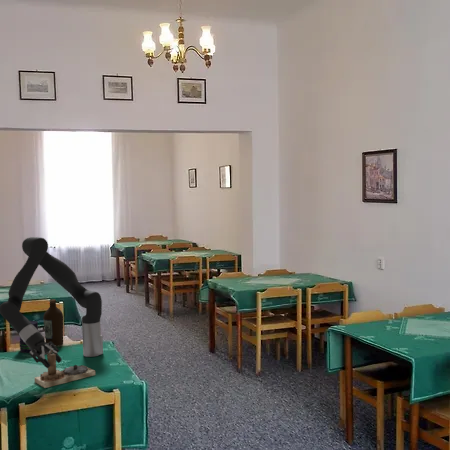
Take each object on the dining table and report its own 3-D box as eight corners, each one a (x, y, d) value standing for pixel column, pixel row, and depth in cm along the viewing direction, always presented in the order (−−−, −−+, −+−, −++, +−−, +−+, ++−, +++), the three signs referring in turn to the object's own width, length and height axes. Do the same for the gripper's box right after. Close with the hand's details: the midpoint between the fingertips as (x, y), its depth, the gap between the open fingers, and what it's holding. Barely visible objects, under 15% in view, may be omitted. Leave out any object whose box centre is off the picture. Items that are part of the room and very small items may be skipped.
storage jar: (42, 350, 297) (41, 322, 296) (24, 354, 290) (23, 326, 290) (34, 346, 304) (32, 320, 304) (16, 350, 298) (15, 323, 297)
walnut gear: (58, 371, 252) (57, 350, 251) (67, 376, 244) (66, 354, 244) (36, 377, 245) (35, 354, 245) (46, 382, 238) (45, 359, 237)
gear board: (84, 369, 261) (83, 359, 261) (95, 374, 253) (94, 364, 253) (34, 382, 245) (34, 371, 245) (45, 388, 237) (44, 377, 237)
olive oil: (56, 340, 316) (54, 297, 315) (68, 343, 310) (66, 299, 309) (40, 344, 308) (38, 300, 306) (52, 347, 301) (50, 302, 300)
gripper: (26, 335, 239) (49, 363, 236) (46, 327, 253) (69, 354, 250) (16, 346, 241) (39, 374, 238) (37, 338, 255) (59, 364, 252)
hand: (54, 364), depth 244 cm, fingers open, 7 cm apart
